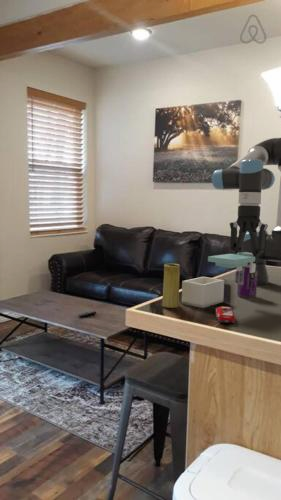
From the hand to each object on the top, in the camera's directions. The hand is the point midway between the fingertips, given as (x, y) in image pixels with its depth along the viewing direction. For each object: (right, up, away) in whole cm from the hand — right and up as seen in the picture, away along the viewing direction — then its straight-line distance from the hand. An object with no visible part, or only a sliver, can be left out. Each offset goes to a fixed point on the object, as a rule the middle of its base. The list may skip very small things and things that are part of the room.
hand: (245, 271), depth 143 cm
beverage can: (+4, -11, +13) cm, 17 cm away
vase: (-27, -12, -4) cm, 29 cm away
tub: (-15, -11, +2) cm, 19 cm away
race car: (-11, -14, -18) cm, 25 cm away
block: (-5, +3, -5) cm, 8 cm away
